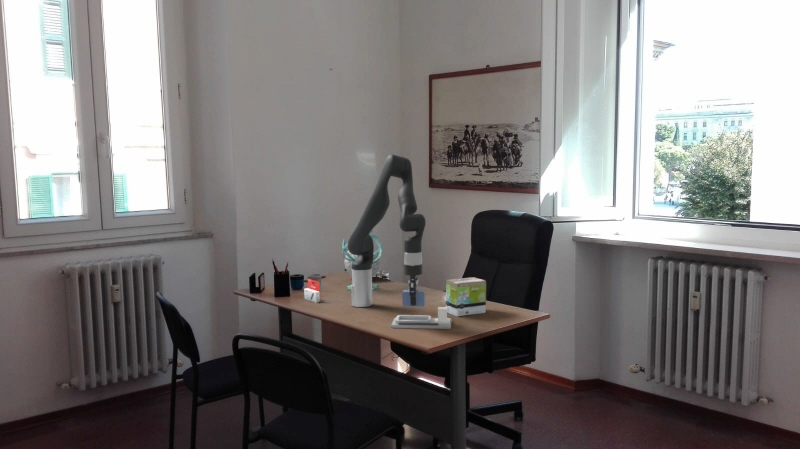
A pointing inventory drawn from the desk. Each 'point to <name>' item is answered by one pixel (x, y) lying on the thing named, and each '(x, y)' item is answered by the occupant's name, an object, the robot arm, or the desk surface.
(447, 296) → the tea box
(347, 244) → the armillary sphere
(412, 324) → the dock
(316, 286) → the ink cartridge box
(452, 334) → the desk surface
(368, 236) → the robot arm
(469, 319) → the desk surface
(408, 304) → the blue block
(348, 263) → the decorative sphere
